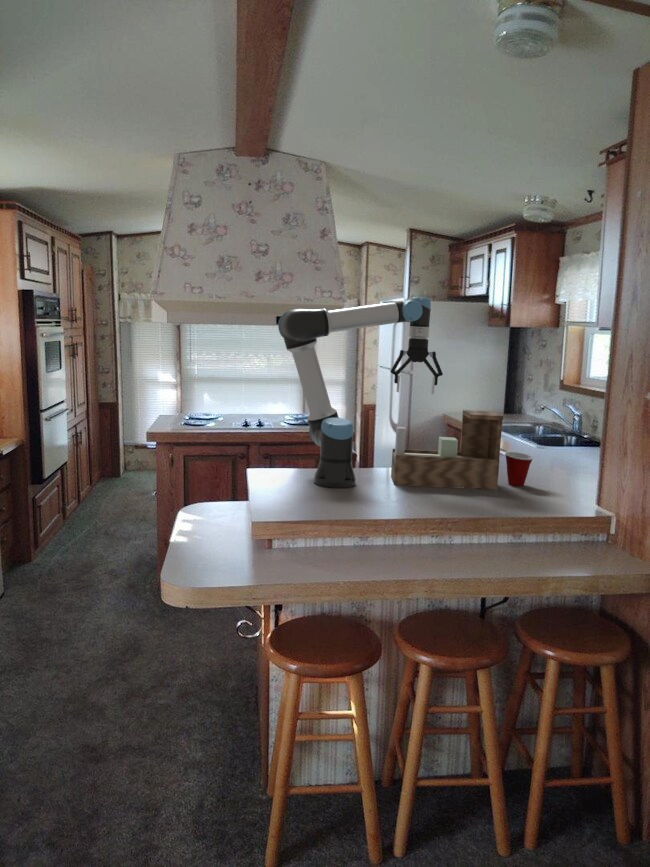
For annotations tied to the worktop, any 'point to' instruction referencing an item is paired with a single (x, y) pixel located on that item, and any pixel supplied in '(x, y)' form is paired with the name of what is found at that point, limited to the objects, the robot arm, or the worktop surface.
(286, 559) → the worktop surface
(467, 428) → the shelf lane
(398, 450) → the tethered block
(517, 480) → the plastic cup
